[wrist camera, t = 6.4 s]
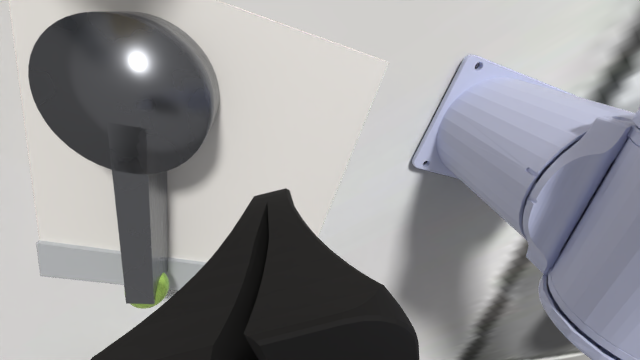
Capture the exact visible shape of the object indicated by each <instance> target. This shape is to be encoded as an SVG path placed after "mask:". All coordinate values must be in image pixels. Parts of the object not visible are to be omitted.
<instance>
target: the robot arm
mask: <svg viewBox="0 0 640 360" xmlns="http://www.w3.org/2000/svg"><path fill="white" fill-rule="evenodd" d="M478 62H479V67H478V68H477V69H475V65H476V64H477V63H478ZM425 161H427V163H426V164H424V165H423V163H424V162H425ZM412 164H413V165H414V166H415V167H416V168H419V169H423V170H426V171H430V172H434V173H438V174H442V175H446V176H450V177H453V178H457V179H460V180H461V181H462V182H463V183H464V184H465V185H467V186H468V187H469V188H470V189H471V190H472V191H473V192H474V193H475V194H476V195H478V196H479V197H480V198H481V199H482V200H483V201H484V202H485V203H486V204H487V205H489V206H490V207H491V208H492V209H493V210H494V211H495V212H496V213H497V214H498V215H499V216H501V217H502V218H503V219H504V220H505V221H506V222H507V223H508V224H509V225H510V226H512V227H513V228H514V229H515V230H516V231H517V232H518V233H519V234H520V235H521V236H523V237H524V238H525V239H526V240H527V241H528V243H529V248H528V252H527V254H526V257H527V258H528V259H529V260H530V261H531V262H532V263H533V264H534V265H535V266H536V267H537V268H538V269H539V270H540V271H541V272H542V273H543V274H544V275H543V276H542V278H541V280H540V282H539V289H538V290H539V297H540V300H541V303H542V305H543V307H544V309H545V311H546V313H547V315H548V316H549V318H550V319H551V320H552V322H553V323H554V324H555V326H556V327H557V328H558V329H559V330H560V331H561V332H562V334H563V335H564V336H565V337H566V338H567V339H568V340H569V341H570V342H571V343H572V344H574V345H575V346H576V347H577V348H578V349H579V350H580V351H581V352H583V353H584V354H585V355H586V356H588V357H589V358H590V359H592V360H640V107H639V109H638V110H637V112H636V113H633V112H630V111H626V110H623V109H619V108H616V107H612V106H609V105H605V104H602V103H598V102H595V101H591V100H588V99H584V98H581V97H577V96H575V95H573V94H571V93H568V92H566V91H563V90H561V89H558V88H556V87H553V86H551V85H548V84H546V83H543V82H541V81H538V80H536V79H533V78H531V77H528V76H526V75H523V74H521V73H519V72H516V71H514V70H511V69H509V68H506V67H504V66H501V65H499V64H496V63H494V62H491V61H489V60H486V59H484V58H481V57H479V56H476V55H468V56H466V57H465V58H464V60H463V61H462V63H461V65H460V67H459V69H458V71H457V73H456V75H455V77H454V79H453V81H452V83H451V85H450V87H449V88H448V90H447V92H446V94H445V96H444V98H443V100H442V102H441V104H440V106H439V108H438V110H437V112H436V114H435V116H434V118H433V120H432V122H431V124H430V126H429V128H428V130H427V132H426V134H425V135H424V137H423V139H422V141H421V143H420V145H419V147H418V149H417V151H416V153H415V155H414V157H413V159H412ZM91 360H419V345H418V339H417V335H416V332H415V330H414V328H413V326H412V324H411V322H410V321H409V319H408V317H407V316H406V314H405V313H404V311H403V310H402V308H401V307H400V305H399V304H398V303H397V301H396V300H395V299H394V297H393V296H392V295H391V294H390V292H389V291H388V290H387V289H386V288H385V286H384V285H382V284H380V283H378V282H376V281H375V280H373V279H371V278H369V277H368V276H366V275H364V274H363V273H361V272H360V271H358V270H357V269H355V268H354V267H352V266H351V265H349V264H348V263H347V262H345V261H344V260H343V259H342V258H340V257H339V256H338V255H336V254H335V253H334V252H333V251H331V250H330V249H329V248H328V247H327V246H326V245H325V244H324V243H323V242H322V241H321V240H320V239H319V238H318V237H317V236H316V235H315V234H314V233H313V231H312V230H311V229H310V228H309V227H308V225H307V224H306V223H305V221H304V220H303V219H302V217H301V216H300V214H299V213H298V211H297V210H296V208H295V206H294V203H293V200H292V196H291V193H290V190H288V189H286V188H285V189H281V190H277V191H273V192H269V193H265V194H261V195H257V196H254V197H253V199H252V200H251V202H250V203H249V205H248V206H247V208H246V210H245V211H244V213H243V214H242V216H241V218H240V219H239V221H238V222H237V224H236V225H235V227H234V228H233V230H232V231H231V232H230V234H229V235H228V236H227V238H226V239H225V240H224V242H223V243H222V244H221V246H220V247H219V248H218V250H217V251H216V252H215V253H214V255H213V256H212V257H211V258H210V259H209V260H208V262H207V263H206V264H205V265H204V266H203V267H202V268H201V269H200V270H199V271H198V272H197V273H196V274H195V276H193V277H192V278H191V279H190V280H189V281H188V282H187V283H186V284H185V285H184V286H183V287H182V288H181V289H180V290H179V291H178V292H177V293H176V294H175V295H174V296H172V297H171V298H170V299H169V300H168V301H167V302H165V303H164V304H163V305H162V306H161V307H160V308H158V309H157V310H156V311H155V312H154V313H152V314H151V315H150V316H149V317H147V318H146V319H145V320H144V321H142V322H141V323H140V324H138V325H137V326H136V327H135V328H133V329H132V330H131V331H129V332H128V333H126V334H125V335H124V336H122V337H121V338H119V339H118V340H117V341H115V342H114V343H112V344H111V345H110V346H108V347H107V348H105V349H104V350H103V351H101V352H100V353H98V354H97V355H95V356H94V357H92V359H91Z"/></svg>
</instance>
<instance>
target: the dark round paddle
mask: <svg viewBox="0 0 640 360" xmlns="http://www.w3.org/2000/svg"><path fill="white" fill-rule="evenodd" d="M28 78H29V85H30V90H31V93H32V96H33V99H34V102H35V104H36V106H37V109H38V110H39V112H40V114H41V116H42V117H43V119H44V120H45V122H46V123H47V125H48V126H49V127H50V129H51V130H52V131H53V132H54V133H55V134H56V135H57V136H58V137H59V139H61V140H62V141H63V142H64V143H65V144H66V145H67V146H68V147H70V148H71V149H72V150H74V151H75V152H77V153H78V154H79V155H81V156H83V157H84V158H86V159H88V160H90V161H92V162H94V163H96V164H98V165H100V166H103V167H105V168H108V169H111V170H112V176H113V185H114V195H115V204H116V213H117V222H118V232H119V241H120V250H121V260H122V269H123V278H124V287H125V297H126V303H130V304H131V305H132V306H134V307H137V308H150V307H153V306H155V305H157V304H158V303H160V302H161V301H162V300H163V299H164V298H165V296H166V295H167V293H168V290H169V279H168V277H167V275H166V274H167V271H168V200H167V171H168V170H171V169H173V168H176V167H178V166H180V165H181V164H183V163H185V162H186V161H187V160H188V159H190V158H191V157H192V156H193V155H194V154H195V153H196V152H197V150H198V149H199V147H200V146H201V145H202V143H203V141H204V139H205V137H206V135H207V134H208V132H209V130H210V128H211V126H212V124H213V122H214V120H215V118H216V115H217V112H218V108H219V100H220V93H219V85H218V81H217V77H216V74H215V71H214V69H213V66H212V64H211V63H210V61H209V59H208V57H207V56H206V54H205V53H204V51H203V50H202V49H201V48H200V46H199V45H198V44H197V43H196V42H195V41H194V40H193V39H192V38H191V37H190V36H189V35H188V34H187V33H185V32H184V31H183V30H181V29H180V28H179V27H177V26H175V25H174V24H172V23H170V22H168V21H166V20H164V19H162V18H159V17H157V16H154V15H150V14H147V13H141V12H131V11H106V12H84V13H77V14H74V15H70V16H67V17H64V18H62V19H60V20H58V21H56V22H55V23H53V24H52V25H51V26H49V27H48V28H47V29H46V30H45V31H44V32H43V33H42V34H41V35H40V36H39V38H38V40H37V41H36V43H35V44H34V47H33V49H32V52H31V54H30V60H29V65H28Z"/></svg>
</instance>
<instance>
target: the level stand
mask: <svg viewBox="0 0 640 360" xmlns="http://www.w3.org/2000/svg"><path fill="white" fill-rule="evenodd" d="M8 1H9V9H10V17H11V25H12V32H13V40H14V48H15V56H16V64H17V71H18V79H19V87H20V95H21V103H22V110H23V118H24V126H25V134H26V141H27V149H28V157H29V165H30V173H31V180H32V188H33V196H34V204H35V212H36V219H37V227H38V235H39V241H38V242H37V243H36V247H37V254H38V262H39V269H40V276H44V277H53V278H63V279H72V280H82V281H91V282H101V283H110V284H120V285H124V278H123V269H122V260H121V250H120V241H119V232H118V222H117V213H116V204H115V195H114V185H113V176H112V170H111V169H108V168H105V167H103V166H100V165H98V164H96V163H94V162H92V161H90V160H88V159H86V158H84V157H83V156H81V155H79V154H78V153H77V152H75V151H74V150H72V149H71V148H70V147H68V146H67V145H66V144H65V143H64V142H63V141H62V140H61V139H59V137H58V136H57V135H56V134H55V133H54V132H53V131H52V130H51V129H50V127H49V126H48V125H47V123H46V122H45V120H44V119H43V117H42V116H41V114H40V112H39V110H38V109H37V106H36V104H35V102H34V99H33V96H32V93H31V90H30V85H29V78H28V65H29V60H30V54H31V52H32V49H33V47H34V44H35V43H36V41H37V40H38V38H39V36H40V35H41V34H42V33H43V32H44V31H45V30H46V29H47V28H48V27H49V26H51V25H52V24H53V23H55V22H56V21H58V20H60V19H62V18H64V17H67V16H70V15H74V14H77V13H84V12H106V11H131V12H141V13H147V14H150V15H154V16H157V17H159V18H162V19H164V20H166V21H168V22H170V23H172V24H174V25H175V26H177V27H179V28H180V29H181V30H183V31H184V32H185V33H187V34H188V35H189V36H190V37H191V38H192V39H193V40H194V41H195V42H196V43H197V44H198V45H199V46H200V48H201V49H202V50H203V51H204V53H205V54H206V56H207V57H208V59H209V61H210V63H211V64H212V66H213V69H214V71H215V74H216V77H217V81H218V85H219V93H220V100H219V108H218V112H217V115H216V118H215V120H214V122H213V124H212V126H211V128H210V130H209V132H208V134H207V135H206V137H205V139H204V141H203V143H202V145H201V146H200V147H199V149H198V150H197V152H196V153H195V154H194V155H193V156H192V157H191V158H190V159H188V160H187V161H186V162H185V163H183V164H181V165H180V166H178V167H176V168H173V169H171V170H168V171H167V200H168V271H167V274H166V275H167V277H168V279H169V290H177V291H179V290H180V289H181V288H182V287H183V286H184V285H185V284H186V283H187V282H188V281H189V280H190V279H191V278H192V277H193V276H195V274H196V273H197V272H198V271H199V270H200V269H201V268H202V267H203V266H204V265H205V264H206V263H207V262H208V260H209V259H210V258H211V257H212V256H213V255H214V253H215V252H216V251H217V250H218V248H219V247H220V246H221V244H222V243H223V242H224V240H225V239H226V238H227V236H228V235H229V234H230V232H231V231H232V230H233V228H234V227H235V225H236V224H237V222H238V221H239V219H240V218H241V216H242V214H243V213H244V211H245V210H246V208H247V206H248V205H249V203H250V202H251V200H252V199H253V197H254V196H257V195H261V194H265V193H269V192H273V191H277V190H281V189H285V188H286V189H288V190H290V193H291V196H292V200H293V203H294V206H295V208H296V210H297V211H298V213H299V214H300V216H301V217H302V219H303V220H304V221H305V223H306V224H307V225H308V227H309V228H310V229H311V230H312V231H313V233H314V234H315V235H316V236H317V237H318V236H319V234H320V232H321V229H322V227H323V224H324V222H325V219H326V217H327V214H328V212H329V209H330V207H331V204H332V202H333V200H334V197H335V195H336V192H337V190H338V187H339V185H340V182H341V180H342V177H343V175H344V173H345V170H346V168H347V165H348V163H349V160H350V158H351V155H352V153H353V150H354V148H355V145H356V143H357V141H358V138H359V136H360V133H361V131H362V128H363V126H364V123H365V121H366V118H367V116H368V114H369V111H370V109H371V106H372V104H373V101H374V99H375V96H376V94H377V91H378V89H379V86H380V84H381V82H382V79H383V77H384V74H385V72H386V69H387V67H388V64H389V62H387V61H384V60H382V59H380V58H377V57H374V56H371V55H369V54H366V53H363V52H360V51H358V50H355V49H352V48H349V47H346V46H344V45H341V44H338V43H335V42H333V41H330V40H327V39H324V38H321V37H319V36H316V35H313V34H310V33H308V32H305V31H302V30H299V29H296V28H294V27H291V26H288V25H285V24H283V23H280V22H277V21H274V20H271V19H269V18H266V17H263V16H260V15H258V14H255V13H252V12H249V11H246V10H244V9H241V8H238V7H235V6H233V5H230V4H227V3H224V2H221V1H219V0H8Z"/></svg>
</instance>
